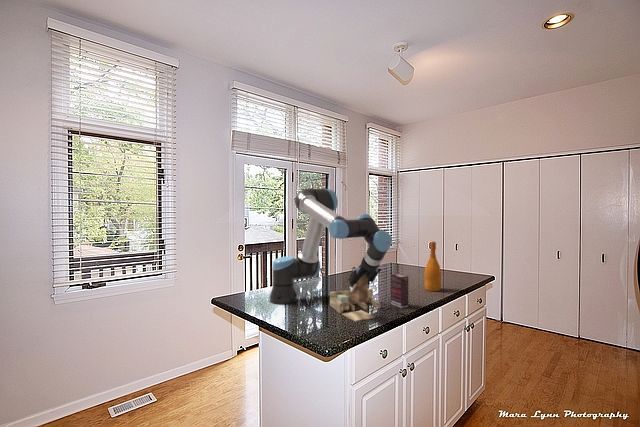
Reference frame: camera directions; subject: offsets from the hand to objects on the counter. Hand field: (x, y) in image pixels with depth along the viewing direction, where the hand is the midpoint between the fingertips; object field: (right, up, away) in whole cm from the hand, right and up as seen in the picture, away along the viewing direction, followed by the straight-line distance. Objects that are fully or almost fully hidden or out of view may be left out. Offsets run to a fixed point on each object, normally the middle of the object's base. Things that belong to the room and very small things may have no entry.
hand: (356, 289), depth 163 cm
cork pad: (+1, -12, -3) cm, 12 cm away
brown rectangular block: (+1, -4, -4) cm, 6 cm away
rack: (+2, -12, +12) cm, 17 cm away
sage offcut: (-6, -9, +10) cm, 14 cm away
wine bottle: (+53, -11, +48) cm, 72 cm away
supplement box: (+24, -12, +15) cm, 31 cm away
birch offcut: (-6, -12, +9) cm, 16 cm away
